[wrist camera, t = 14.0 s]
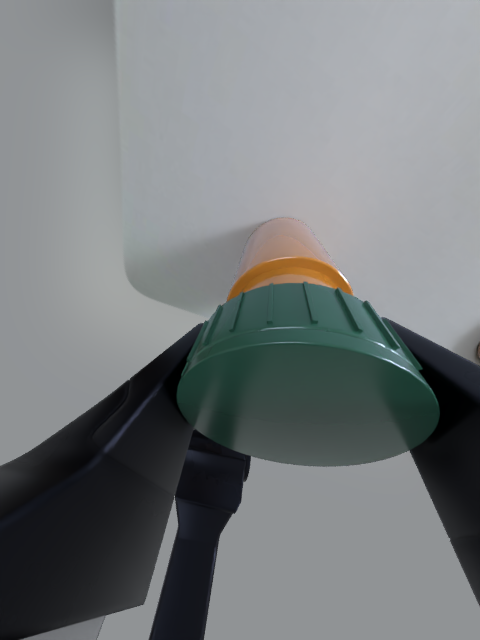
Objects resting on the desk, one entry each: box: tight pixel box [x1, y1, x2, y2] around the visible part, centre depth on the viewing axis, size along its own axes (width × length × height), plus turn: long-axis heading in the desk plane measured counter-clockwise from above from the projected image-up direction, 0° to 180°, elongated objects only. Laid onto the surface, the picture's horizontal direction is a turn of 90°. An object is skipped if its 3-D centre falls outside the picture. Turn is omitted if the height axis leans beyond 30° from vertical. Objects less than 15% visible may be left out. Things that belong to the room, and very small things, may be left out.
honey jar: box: [226, 218, 354, 302], centre depth 11 cm, size 6×6×10 cm
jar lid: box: [176, 281, 440, 466], centre depth 6 cm, size 7×7×2 cm
